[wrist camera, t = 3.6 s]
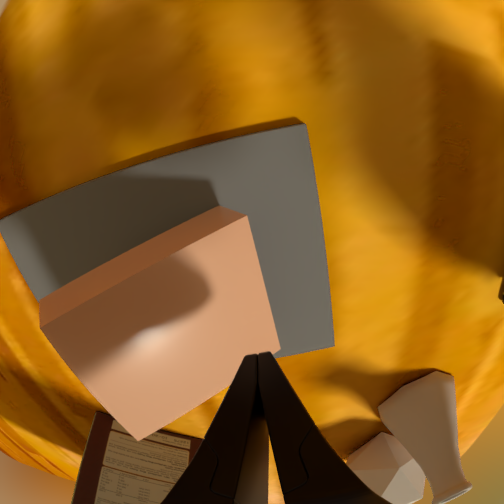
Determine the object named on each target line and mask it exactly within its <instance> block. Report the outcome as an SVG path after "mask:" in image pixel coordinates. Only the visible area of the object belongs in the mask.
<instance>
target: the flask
mask: <svg viewBox="0 0 504 504" xmlns="http://www.w3.org/2000/svg"><path fill="white" fill-rule="evenodd" d="M378 411H379V414H380V418H381V421H382V422H383V423H384V425H385V426H386V427H387V428H388V429H389V430H390V432H391V433H392V434H393V435H394V436H395V437H396V438H397V439H398V441H399V442H400V443H401V444H402V445H403V446H404V447H405V449H406V450H407V451H408V452H409V454H410V455H411V456H412V457H413V458H414V460H415V461H416V462H417V463H418V465H419V466H420V467H421V469H422V471H423V472H424V474H425V476H426V478H427V480H428V481H429V483H430V486H431V489H432V492H433V496H434V498H433V501H432V504H444V503H446V502H448V501H450V500H452V499H454V498H456V497H458V496H460V495H462V494H464V493H466V492H467V491H469V490H470V489H471V488H472V484H471V483H470V482H467V481H466V479H465V476H464V473H463V470H462V467H461V461H460V454H459V449H458V431H457V415H456V397H455V384H454V376H451V375H448V374H445V373H442V372H438V371H435V372H433V373H431V374H429V375H426V376H424V377H422V378H420V379H418V380H416V381H413V382H411V383H409V384H407V385H404V386H402V387H401V388H400V389H399V390H398V391H397V392H395V393H394V394H393V395H392V396H391V397H389V398H388V399H387V400H386V401H384V402H383V403H382V404H381V405H380V406H378Z"/></svg>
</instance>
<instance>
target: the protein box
mask: <svg viewBox="0 0 504 504" xmlns="http://www.w3.org/2000/svg"><path fill="white" fill-rule="evenodd" d="M201 442H202V439H197V438H192V437H188V436H183V435H178V434H174V433H169V432H165V431H161V430H157V431H155V432H154V433H152V434H150V435H148V436H147V437H145V438H143V439H141V440H140V441H137V440H136V439H135V438H134V437H133V436H132V435H131V434H130V433H129V432H128V431H127V430H126V429H125V428H124V427H123V426H122V425H121V424H120V423H119V422H118V421H117V420H116V419H115V418H114V417H113V416H109V415H106V414H104V413H101V412H98V411H97V412H96V413H95V416H94V419H93V422H92V425H91V429H90V432H89V436H88V439H87V443H86V446H85V450H84V453H83V457H82V461H81V464H80V468H79V472H78V476H77V480H76V484H75V489H74V493H73V497H72V502H71V504H160V503H161V502H162V501H163V500H164V498H165V497H166V496H167V494H168V493H169V492H170V490H171V489H172V487H173V486H174V485H175V483H176V482H177V481H178V479H179V478H180V476H181V475H182V474H183V472H184V471H185V469H186V468H187V466H188V465H189V463H190V462H191V460H192V459H193V457H194V455H195V453H196V451H197V450H198V448H199V446H200V444H201Z"/></svg>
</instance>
